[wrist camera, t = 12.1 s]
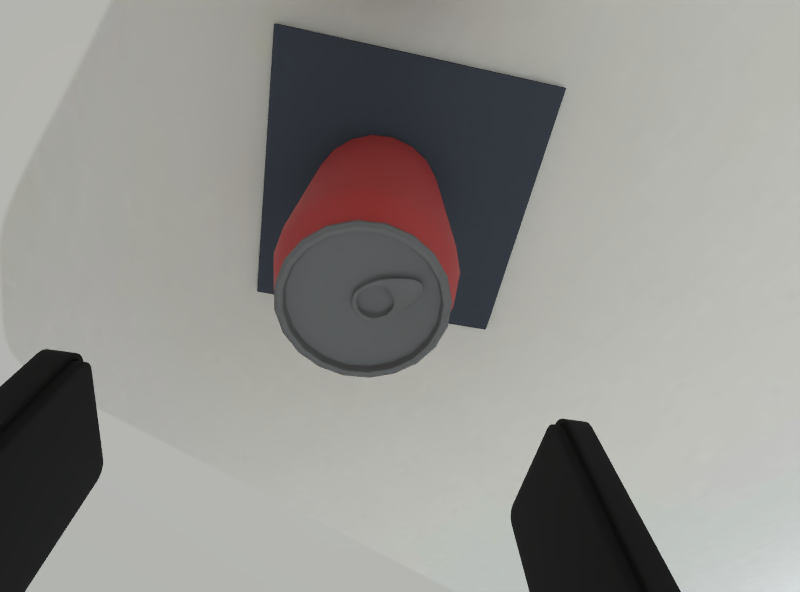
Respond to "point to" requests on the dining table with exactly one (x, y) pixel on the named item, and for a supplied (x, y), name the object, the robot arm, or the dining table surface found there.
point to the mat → (410, 143)
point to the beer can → (367, 261)
